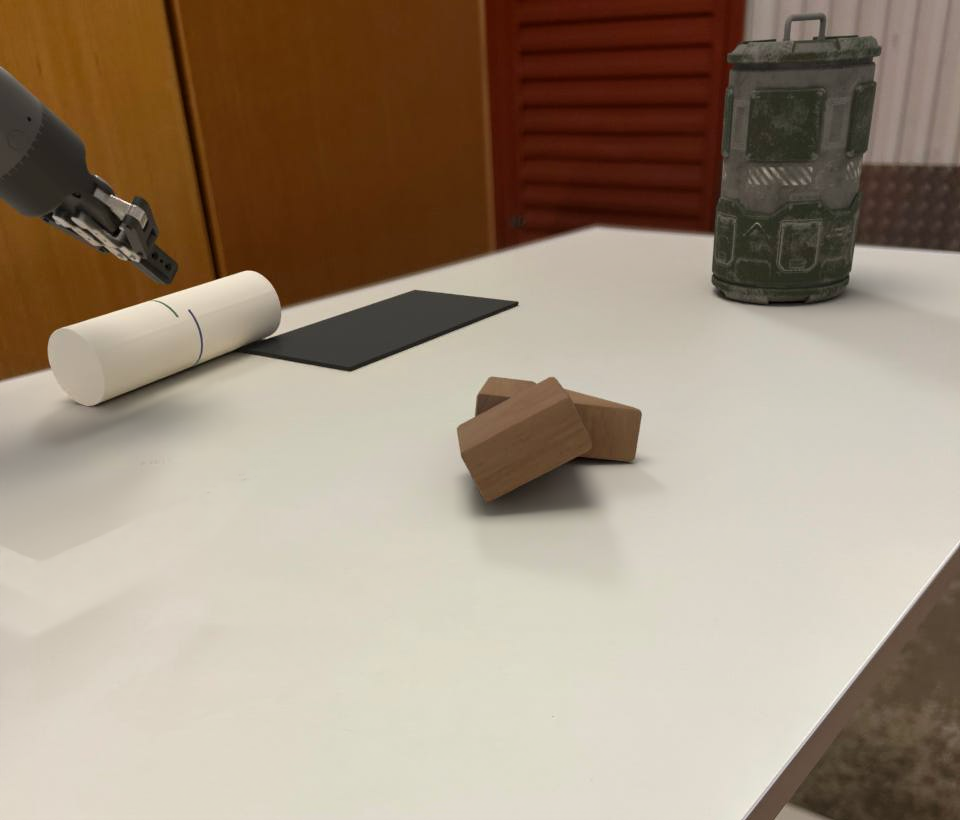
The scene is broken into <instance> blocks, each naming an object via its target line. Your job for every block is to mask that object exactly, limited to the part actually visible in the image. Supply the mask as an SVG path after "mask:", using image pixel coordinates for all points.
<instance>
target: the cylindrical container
mask: <svg viewBox="0 0 960 820" xmlns="http://www.w3.org/2000/svg"><path fill="white" fill-rule="evenodd" d="M281 320H282V305H281V301H280V298H279V296H278V293H277V291H276V289H275V287H274V286H273V284H272V283H271V282H270V281H269V280H268V279H267V278H266V277H265V276H264V275H262V274H261V273H259V272H257V271H253V270H244V271H240V272H236V273H234V274H230V275H228V276H227V275H226V276H224V277H221V278H218V279H214V280H212V281H208V282H205V283H202V284H198V285H195V286H192V287H188V288H186V289H183V290H178V291H175V292H173V293H169V294H167V295H163V296H159V297H157V298H154V299H151V300H147V301H144V302H141V303H138V304H135V305H132V306H128V307H125V308H122V309H118V310H115V311H112V312H109V313H107V314H106V313H104V314H102V315H99V316H95V317H93V318H88V319H87V320H83V321H80V322H77V323H73V324H70V325H66V326H63V327H60V328H58V329H56V330H54V331H53V332H52V333H51V334H50V336H49V339H48V342H47V343H48V344H47V359H48V362H49V366H50V369H51V372H52V373H53V376H54V378H55V380H56V382H57V384H58V385H59V387H60V388H61V389H62V391H64V393H65V394H66V395H67V396H68V397H69V398H70V399H72V400H73V401H74V402H76V403H77V404H80V405H83V406H86V407H91V406H92V407H93V406H96V405H98V404H101V403H103V402H106V401H108V400H111V399H113V398H116V397H119V396H121V395H124V394H126V393H130V392H132V391H134V390H137V389H139V388H142V387H144V386H146V385H149V384H151V383H155V382H157V381H159V380H161V379H164V378H167V377H170V376H172V375H175V374H177V373H180V372H182V371H185V370H187V369H189V368H193V367H195V366H197V365H200V364H202V363H205V362H208V361H210V360H212V359H215V358H217V357H220V356H223V355H226V354H228V353H231V352H233V351H235V350H238V349H239V348H241V347H244V346H247V345H250V344H253V343H256V342H259V341H262V340H264V339H267V338H270V337H271V336H272V335H274V333H276V332H277V330H278V329H279V327H280V324H281Z"/></svg>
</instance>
